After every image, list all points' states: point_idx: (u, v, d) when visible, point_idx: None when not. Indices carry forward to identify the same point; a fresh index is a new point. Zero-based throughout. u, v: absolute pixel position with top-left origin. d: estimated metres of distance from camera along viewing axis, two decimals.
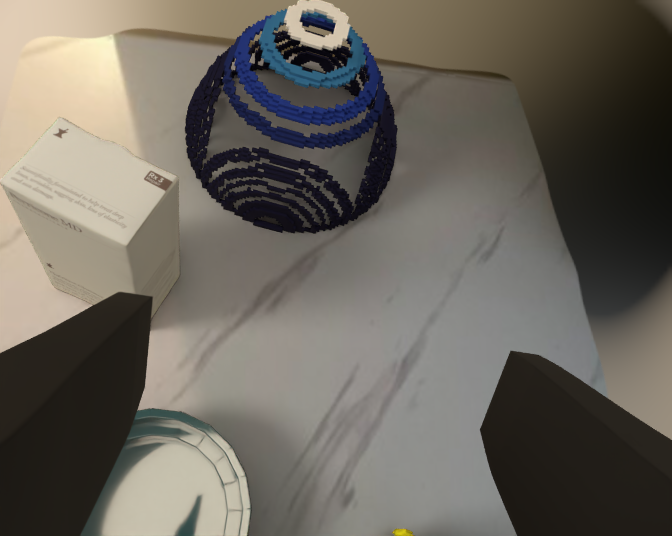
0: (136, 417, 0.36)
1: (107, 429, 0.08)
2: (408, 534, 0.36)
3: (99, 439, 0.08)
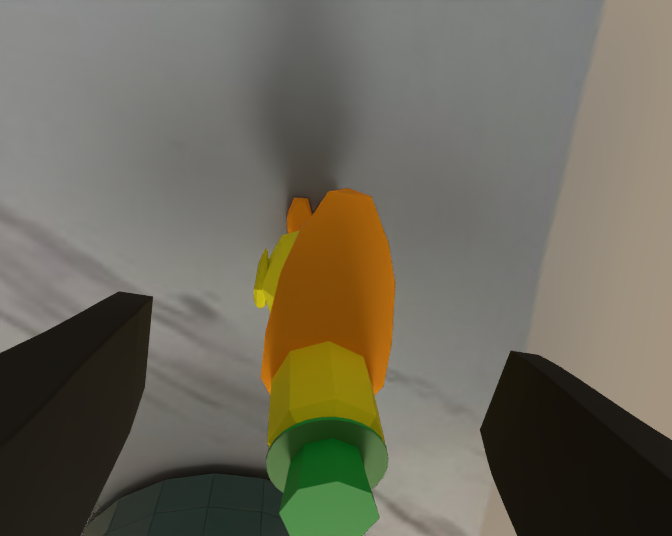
0: None
1: (107, 429, 0.08)
2: (265, 290, 0.15)
3: (99, 439, 0.08)
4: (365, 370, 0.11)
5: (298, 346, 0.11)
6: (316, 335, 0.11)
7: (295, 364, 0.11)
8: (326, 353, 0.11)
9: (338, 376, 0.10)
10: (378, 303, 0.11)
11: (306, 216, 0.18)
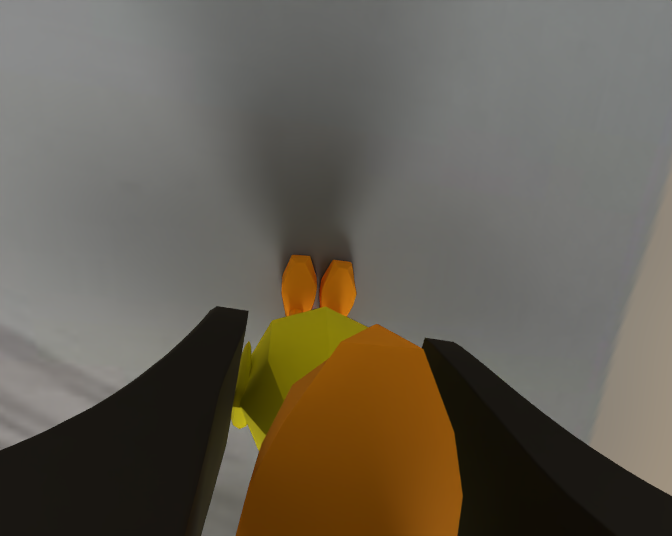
0: None
1: (220, 442, 0.09)
2: (245, 410, 0.10)
3: (216, 452, 0.08)
4: None
5: None
6: None
7: None
8: None
9: None
10: (430, 526, 0.06)
11: (307, 282, 0.14)
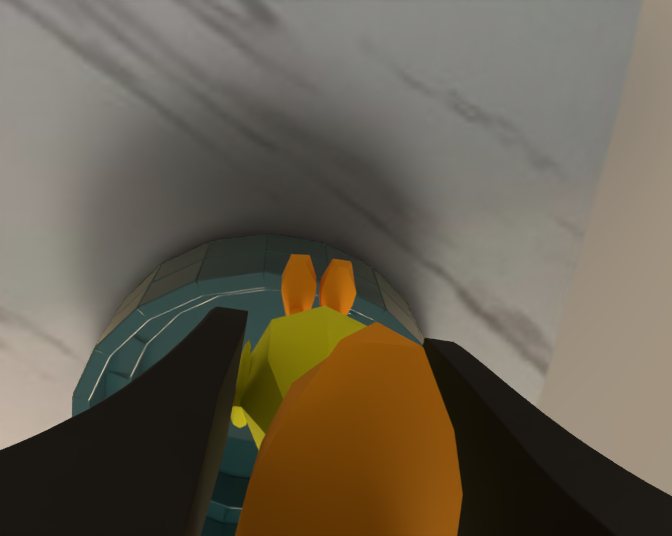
0: None
1: (220, 442, 0.09)
2: (245, 409, 0.10)
3: (216, 452, 0.08)
4: None
5: None
6: None
7: None
8: None
9: None
10: (430, 524, 0.06)
11: (307, 281, 0.14)
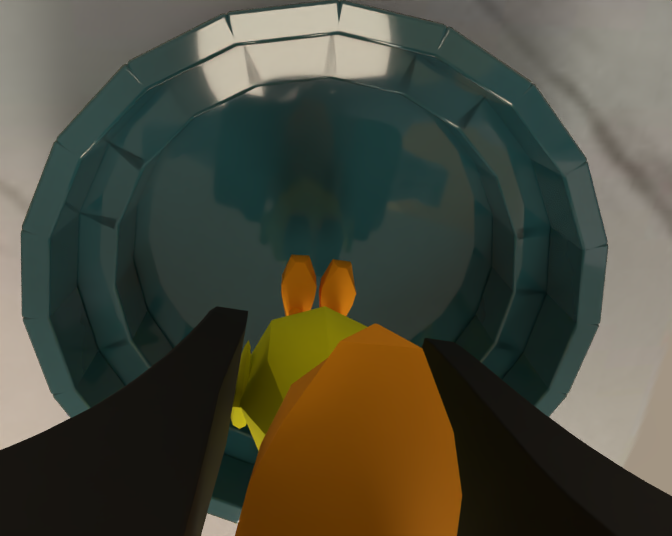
0: (54, 352, 0.12)
1: (220, 442, 0.09)
2: (245, 410, 0.10)
3: (216, 452, 0.08)
4: None
5: None
6: None
7: None
8: None
9: None
10: (429, 525, 0.06)
11: (307, 282, 0.14)
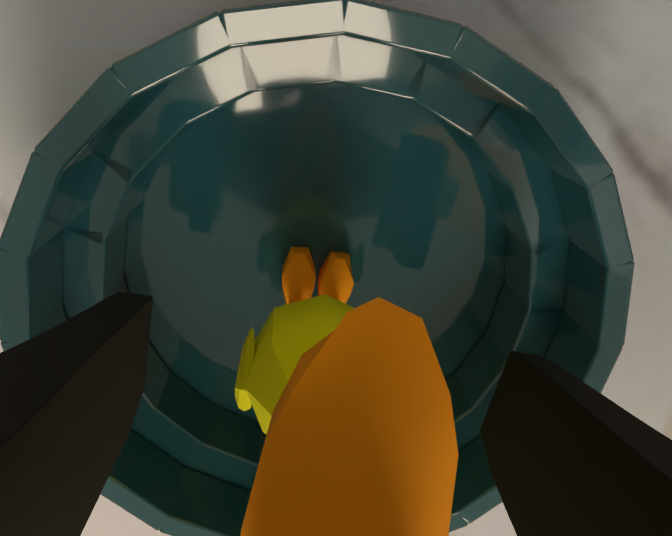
0: None
1: (107, 429, 0.08)
2: (250, 392, 0.11)
3: (99, 439, 0.08)
4: None
5: None
6: (325, 531, 0.07)
7: None
8: None
9: None
10: (429, 483, 0.07)
11: (306, 273, 0.14)
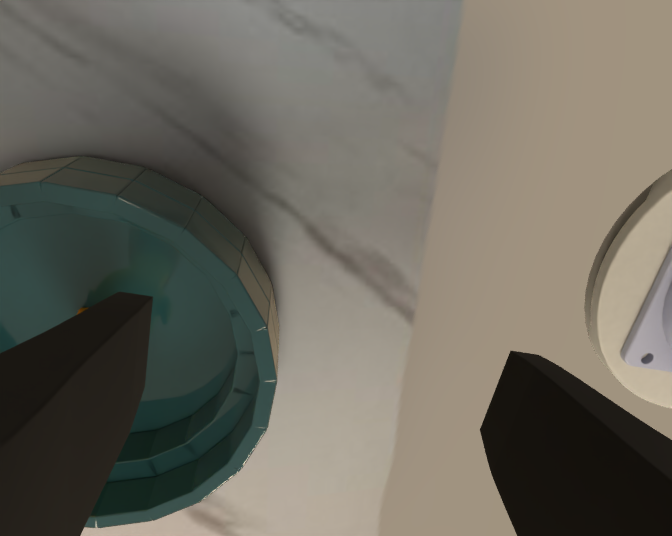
0: None
1: (107, 429, 0.08)
2: None
3: (99, 439, 0.08)
4: None
5: None
6: None
7: None
8: None
9: None
10: None
11: None
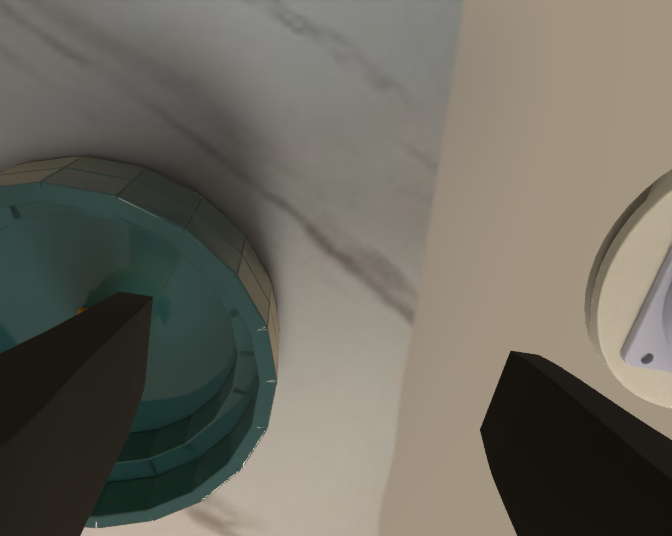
0: None
1: (107, 429, 0.08)
2: None
3: (99, 439, 0.08)
4: None
5: None
6: None
7: None
8: None
9: None
10: None
11: None
